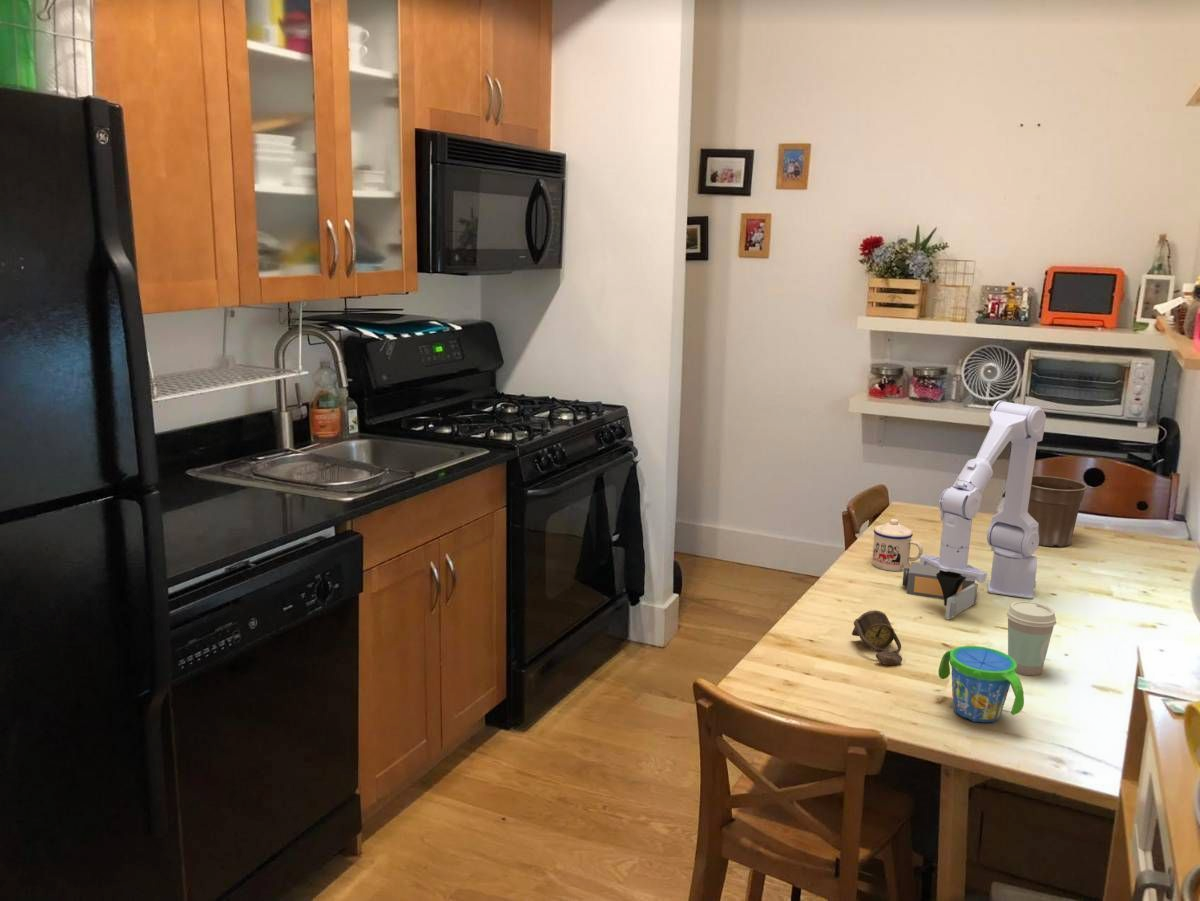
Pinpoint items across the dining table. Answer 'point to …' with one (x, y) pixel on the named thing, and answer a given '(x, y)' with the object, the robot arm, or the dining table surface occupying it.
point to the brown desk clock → (878, 636)
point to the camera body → (926, 581)
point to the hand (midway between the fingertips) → (948, 604)
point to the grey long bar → (961, 601)
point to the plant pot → (1055, 508)
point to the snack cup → (981, 682)
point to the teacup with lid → (893, 546)
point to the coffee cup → (1029, 635)
